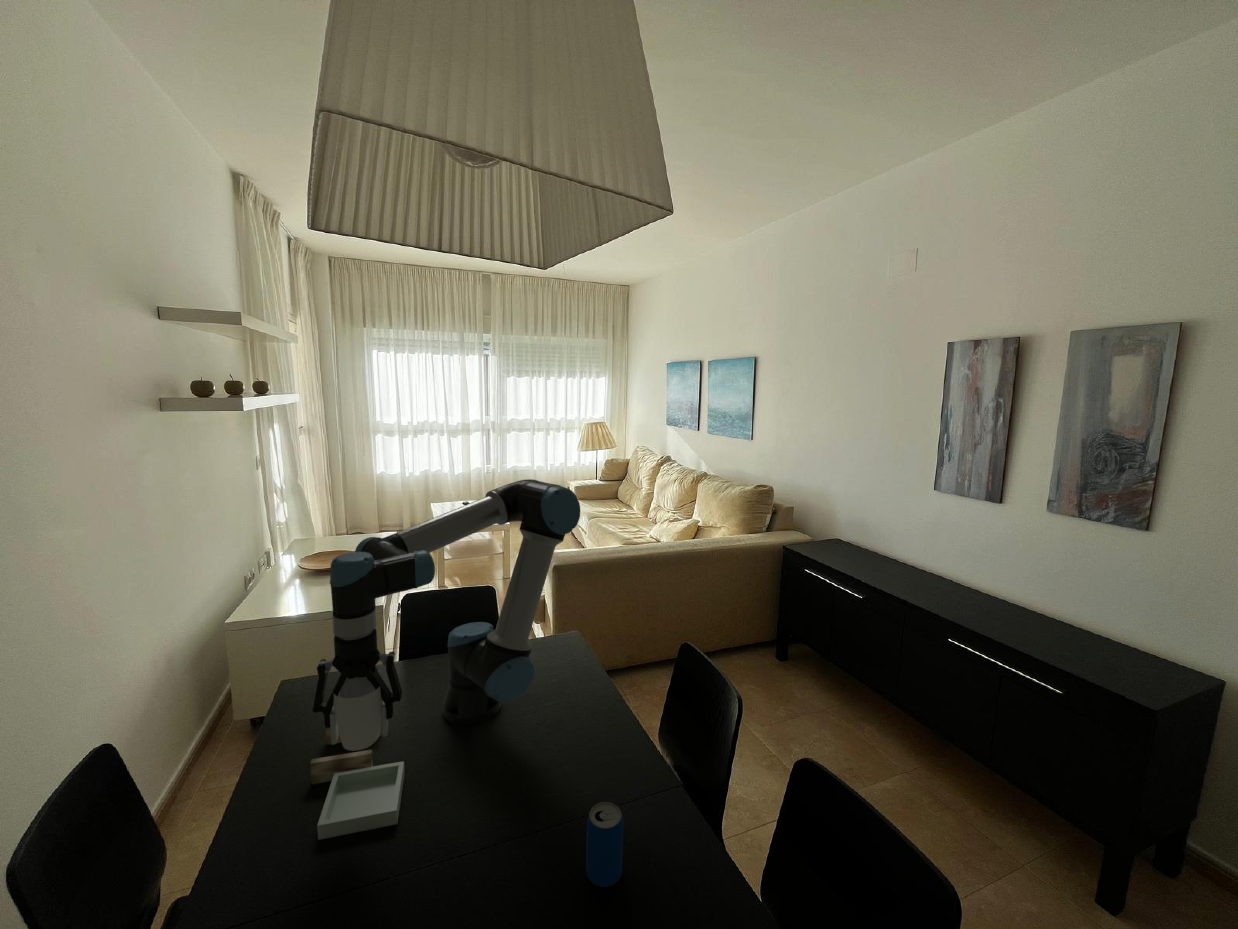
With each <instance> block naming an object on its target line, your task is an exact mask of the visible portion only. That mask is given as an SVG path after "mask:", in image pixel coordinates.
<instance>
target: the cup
mask: <svg viewBox="0 0 1238 929" xmlns="http://www.w3.org/2000/svg"><path fill="white" fill-rule="evenodd" d="M382 704H383V700H382V699H381V692H380V687H379V688H378V689H376V690H375V688H374V686H373V685H372V683H371V682H370V681H368V679H367V678H366V676H365V677H355V678H352V679H348V678H346V680H345V682H344V684H343V686H342V688H341V690H340V692H339V694H338V696H336V695H335V694H334V702H333V707H334V712H335V716H336V720H337V724H338V728H339V733H340V737H341V741H342V742H341V743H342V747H343V749H344V750H347V751H350V752H351V751H353V752H355V751H356V752H358V751H363V750H365V749H368V748H369V747H371V746H373V744H375V743H376V742H377V741H378V740H379V737H380V736H379V730H380V721H381V722H382V712H381V707H382ZM333 707H332V708H333Z"/></svg>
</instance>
